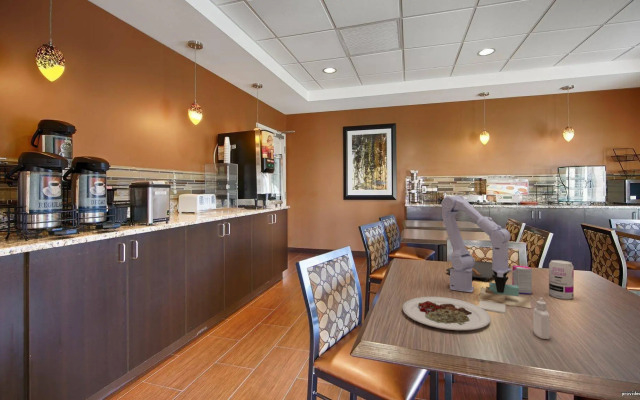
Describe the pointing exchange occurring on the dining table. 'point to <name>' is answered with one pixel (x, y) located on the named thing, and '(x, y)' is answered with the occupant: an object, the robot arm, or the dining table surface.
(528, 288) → the supplement box
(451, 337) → the dining table surface
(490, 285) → the teal bar
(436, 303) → the plated food
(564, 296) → the supplement can
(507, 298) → the board
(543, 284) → the dining table surface
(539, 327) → the eye dropper bottle
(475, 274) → the serving board
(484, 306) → the grey tile
